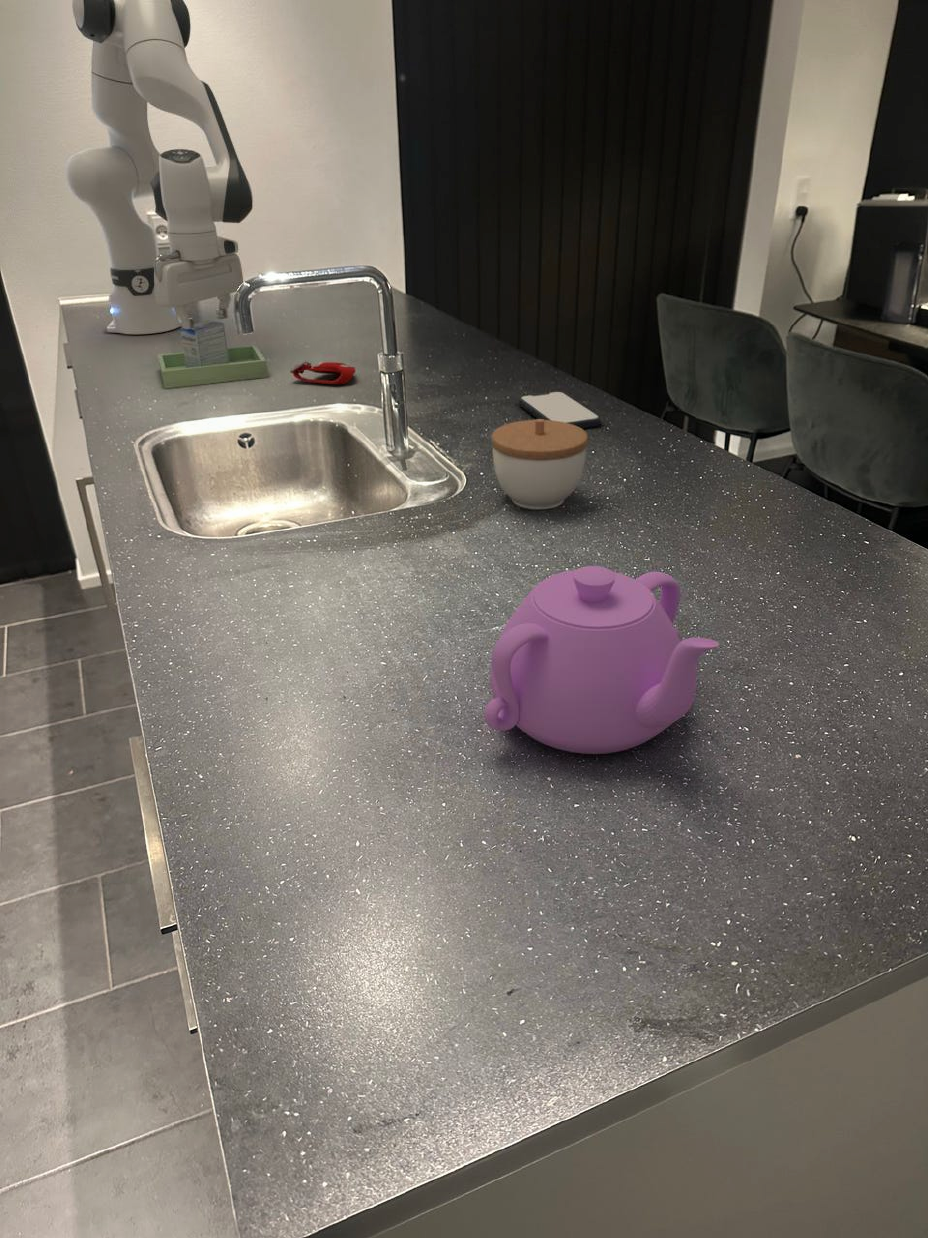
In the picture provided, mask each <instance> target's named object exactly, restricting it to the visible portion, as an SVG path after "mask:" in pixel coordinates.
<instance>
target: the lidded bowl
mask: <svg viewBox="0 0 928 1238" xmlns="http://www.w3.org/2000/svg"><path fill="white" fill-rule="evenodd" d="M588 442H589V436H588V433H587V432H586V430H584V428H583V429H582V428H580V427H578V426H575V425H572V424H569V423H565V422H560V421H552V420H544V419H537V418H536V419H528V420H526V419H525V420H518V421H513V422H509V423H506V424H503V425H501V426H499V427H497V428H495V430H493V432H492V434H491V446H492V463H493V471H494V474H495V478H496V480H497V483H498V485H499V486H500V488H501V490H502V491H503V492H504V494H506V495H507V496H508V498H510V499H511V502H512V503H513V504H515V505H516V506H518V507H520V508H523V509H528V510H549V509H550V510H551V509H554V508H557V507H559V506H561V505H562V504H564V502H565V500H566V499H567V498H569V496H571V494H572V493H573V492H575V490H576V488H577V487H578V485H579V484H580V482H581V480H582V477H583V473H584V470H585V463H586V457H587V448H588Z"/></svg>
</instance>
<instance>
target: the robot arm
mask: <svg viewBox="0 0 928 1238" xmlns="http://www.w3.org/2000/svg"><path fill="white" fill-rule="evenodd" d="M71 3H72V14H73V17H74V20H75V25H76V27H77V29H78V31H79V32H80V33H81V34H82V36H83V37H85V38H86V39H88V40H90V41H92V47H91V65H90V66H91V68H90V69H91V71H90V72H91V75H90V76H91V79H90V80H91V110H92V113H93V115H94V117H95V118H96V119H97V121H99V122H100V124H102V125H103V126H105V128H106V130H107V134H108V138H109V139H108V140H109V145H108V146H104V147H103V146H102V147H91V148H85V149H84V150H80V151H79V152H76V153H74V154H72V155H71V156H69V157H68V159H67V161H66V163H65V167H64V175H65V181H66V184H67V186H68V188H69V190H70V191H71V193H72V194H73V195H74V196H75V198H77V199H78V200H79V201H81V202H82V203H83V204H84V205H86V206H87V207H88V209H89V210H90V211H91V212H92V214H93V215H94V217H95V219H96V220H97V222H98V224H99V226H100V228H101V231H102V234H103V236H104V240H105V244H106V248H107V253H108V257H109V262H110V269H109V270H110V271H109V272H110V279H111V283H112V284H113V285H114V286H113V289H112V291H111V292H110V293H109V295H108V304H109V308H110V310H109V311H110V314H111V317H112V321H111V322H110V323H109V324H108V325H107V327H106V332H107V333H113V334H114V333H115V334H116V333H118V334H124V335H150V334H158V333H163V332H168V331H173V330H175V329H178V328H182V327H183V328H184V329H190V328H193V327H194V324H195V323H194V318H193V317H190V316H189V315H188V313H187V311H188V310H189V309H188V305H190V304H194V303H199V302H201V301H202V302H203V301H206V300H210V299H213V298H217V299H218V300H219V303H218V308H217V309H215V314H216V318H217V320H225V319H228V318H229V310H228V309H229V307H230V303H231V294H233V293H237V292H236V291H237V289H238V288H239V286H240V285H241V284H242V283H243V284H244V276H243V275H244V274H243V269H242V262H241V259H240V257H239V255H238V254H237V253H238V252H239V243H238V242H237V240H234V239H231V238H227V237H223V236H220V235H218V234H217V233H218V232H217V227H216V223H225V224H226V223H227V224H240V223H242V222H243V221H244V220H245V219H246V218H247V217H248V216H249V214H250V213H251V212H252V210H253V202H254V200H253V199H254V198H253V190H252V187H251V184H250V182H249V180H248V177H247V175H246V173H245V171H244V168H243V167H242V164H241V162H240V159H239V156H238V154H237V152H236V150H235V149H236V148H235V146H234V143H233V141H232V138H231V135H230V132H229V130H228V128H227V124H226V121H225V119H224V117H223V114H222V111H221V109H220V106H219V103H218V101H217V99H216V97H215V95H214V92H213V91H212V89H211V87H210V85H209V84H208V83H207V82H205V81H203V80H201V79H200V78H199V77H198V76H197V75H196V74H195V72H194V71H193V69H192V68H191V66H190V64H189V62H188V58H187V53H186V52H187V51H186V47H187V46H188V44H189V42H190V37H191V29H192V27H191V26H192V25H191V15H190V11H189V8H188V6H187V4H186V3H185V1H184V0H72V1H71ZM148 104H149V105H151V106H152V107H154V108H156V109H158V110H160V111H162V112H164V113H168V114H172V115H175V116H178V117H180V118H183V119H186V120H187V121H190V122H192V123H194V124H195V125H196V126H198V127H199V128H200V129H201V130H202V131H203V133H204V135H205V137H206V140H207V143H208V145H209V148H210V151H211V154H212V156H213V160H214V162H215V165H214V166H206V164H205V162H204V159H203V156H202V154H200V153H199V152H197V151H196V150H192V149H186V148H175V149H174V148H173V149H169V150H166V151H163V152H160V151H159V150H158V149H157V148H156V146H155V145H154V141H153V139H152V135H151V132H150V127H149V122H148V121H149V120H148ZM152 197H153V202H154V208H155V209H154V213H155V214H156V215H158V217H160V218H162V219H163V220H165V221H166V222H167V225H166V227H167V228H166V232H167V237H168V244H169V248H170V249H169V251H170V252H167V253H160V252H159V246H158V240H157V235H156V231H155V229H154V227H153V226H152V225H151V224H150V223H149V222H147V221H145V220H143V219H142V218H141V216H140V215H139V213H138V211H137V209H136V207H135V205H134V201H136V200H142V199H143V200H144V199H149V198H152Z"/></svg>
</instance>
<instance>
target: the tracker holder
mask: <svg viewBox="0 0 928 1238" xmlns="http://www.w3.org/2000/svg"><path fill="white" fill-rule="evenodd" d="M305 371H309V372H313V373H316V374H324V375H339V377H338V378H337V379H335V380H320V379H310V378H306V377H303V376H301V375H300V374H304V373H305ZM289 373H290V374H292V375H293V377H294V378H295V379H297V380H299V381H303V382H306V383H314V384H325V385H345V384H347V383H348V382H350V381H351V379H352V378H353V376H354V374H355V373H356V367H354V366H349V365H347V364H346V363H344V362H339V361H326V362H322V363H320V364H319V365H314V366H312V362H311V361H307V360H304V361H302V362H300V363H298V364H296V365H295V366H294V367H292V368H291V369H290V370H289Z"/></svg>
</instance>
